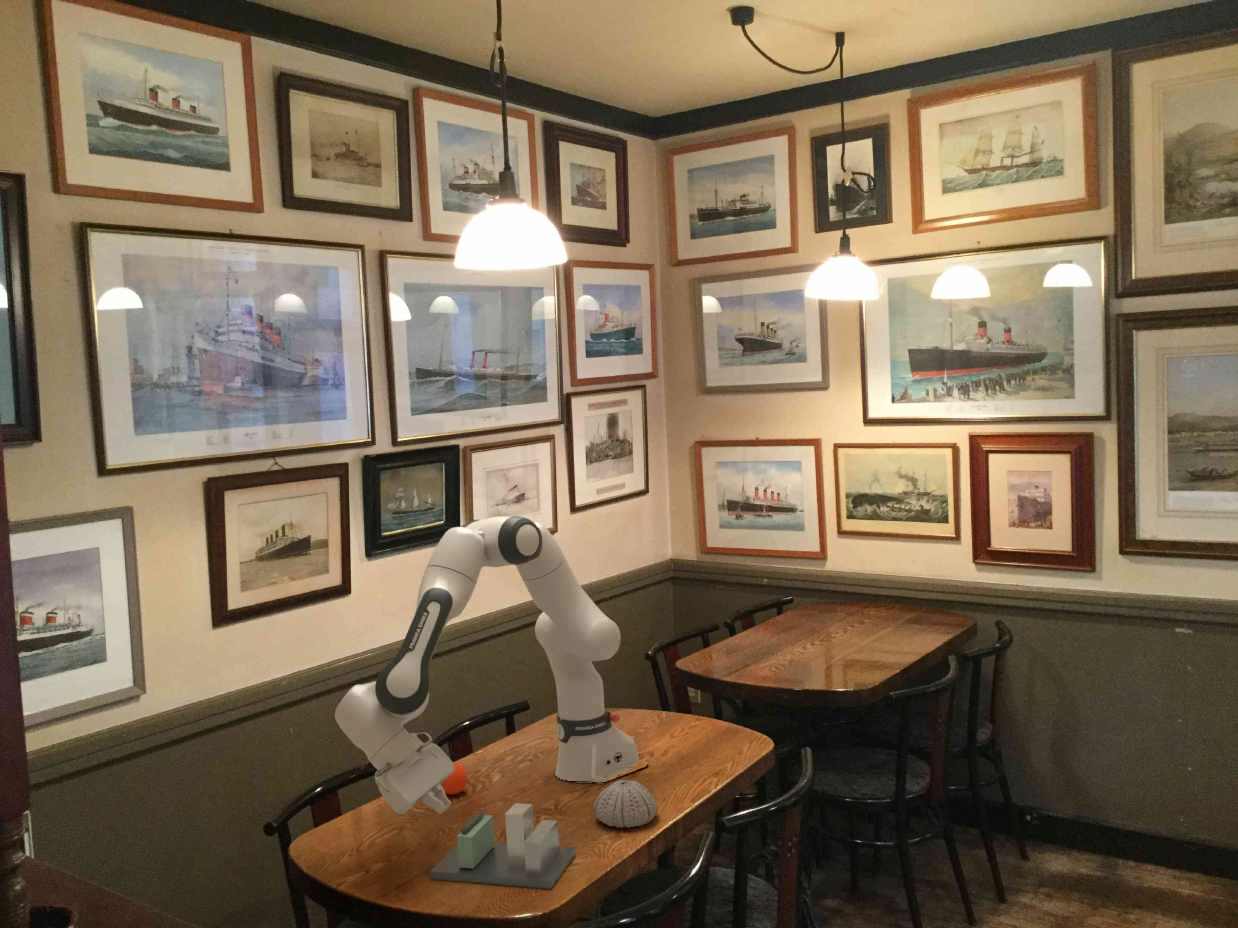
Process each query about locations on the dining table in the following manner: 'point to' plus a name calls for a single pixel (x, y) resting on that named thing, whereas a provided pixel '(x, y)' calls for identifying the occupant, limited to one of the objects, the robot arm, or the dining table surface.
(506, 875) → the vise
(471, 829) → the sliding jaw
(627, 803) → the sea urchin shell
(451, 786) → the clementine
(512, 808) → the block
